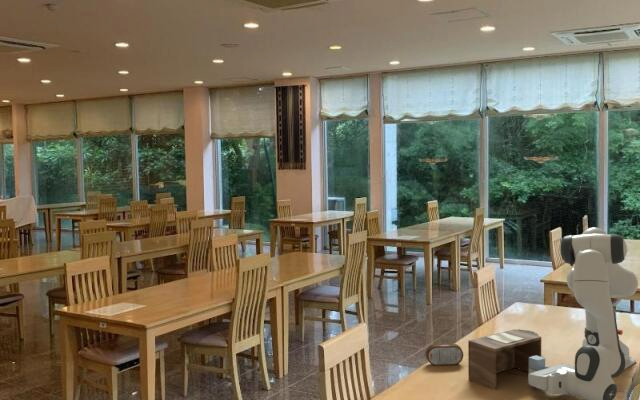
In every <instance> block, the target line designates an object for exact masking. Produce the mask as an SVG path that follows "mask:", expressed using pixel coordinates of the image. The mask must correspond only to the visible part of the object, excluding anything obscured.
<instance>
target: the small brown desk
mask: <svg viewBox="0 0 640 400" xmlns="http://www.w3.org/2000/svg"><path fill="white" fill-rule="evenodd" d="M467 343H468V344H467V346H468V351H467V352H468V354H467V355H468V365H467V366H468V370H467V371H468V380H469V381H471V382H474V383H476V384H478V385H481V386H484V387H487V388H490V389H491V390H494V391H495V390H497V374H498V373H499V372H504V371H507V370H511V369H513V368H515V369H518V370H522V371H524V372H527V373H529V357H532V356H540V357H542V336H540V335H539V336H537V335H533V334H530V333H526V332H522V331H519V330H518V329H511V330H506V331H503V332H497V333H494V334H490V335H485V336H482V337H477V338H474V339H469V340H468V341H467Z"/></svg>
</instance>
